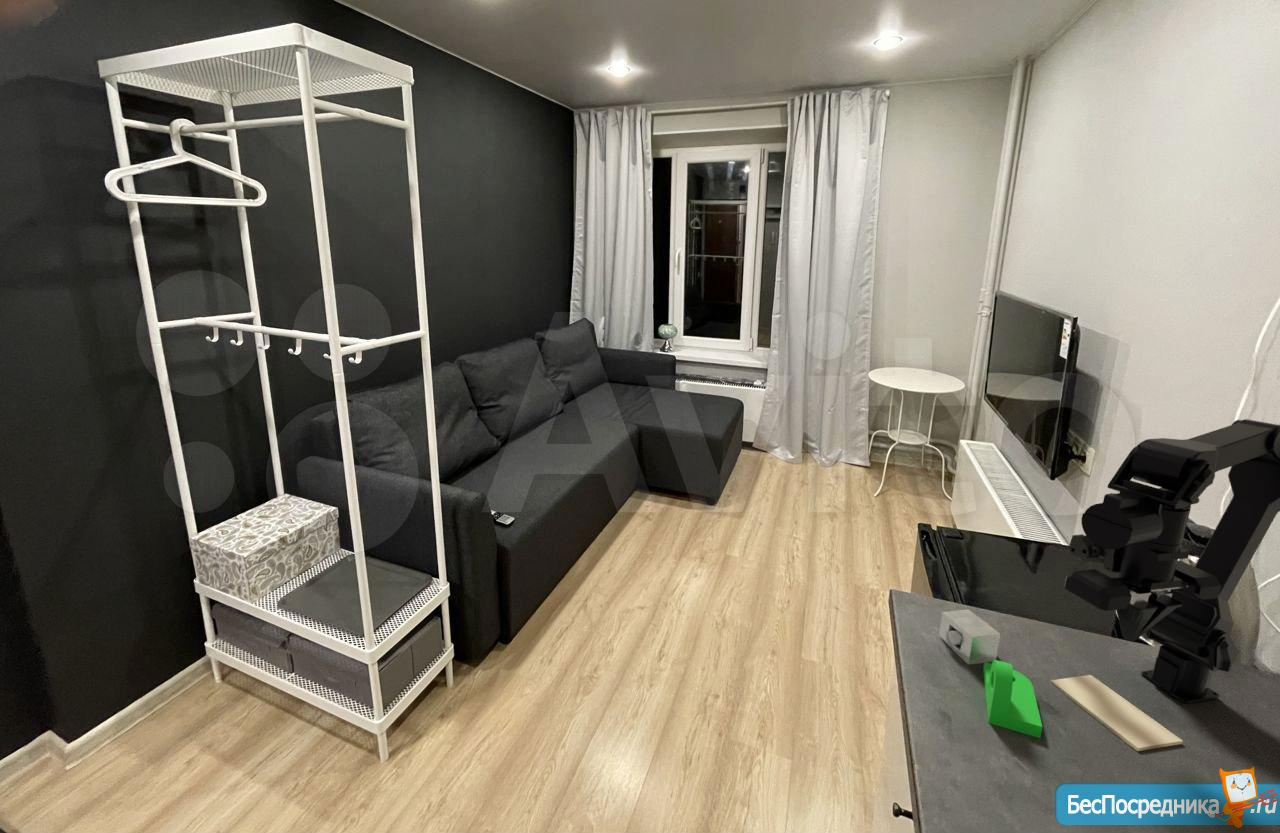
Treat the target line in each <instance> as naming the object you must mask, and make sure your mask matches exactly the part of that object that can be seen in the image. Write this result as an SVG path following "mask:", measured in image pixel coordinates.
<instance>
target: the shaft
mask: <svg viewBox="0 0 1280 833" xmlns="http://www.w3.org/2000/svg"><path fill="white" fill-rule="evenodd" d="M985 622H986V623H987V624H988V625H990V626H991V627H992V628H994V629H995V626H993V625H992V624H991V623H990V622H987V621H985ZM995 630H996V629H995ZM962 637H963V635H962V634H961V633H960V632H958V631H957V630H953V631H947V632H946V639H947V641H948V643H949V644H950V645H960V644H961V643H962Z"/></svg>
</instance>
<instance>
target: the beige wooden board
mask: <svg viewBox="0 0 1280 833" xmlns="http://www.w3.org/2000/svg"><path fill="white" fill-rule="evenodd" d="M1050 683H1052V684H1053V685H1054V686H1055V687H1056V688H1057V689H1058V690H1060V691H1061V692H1062V693H1063V694H1064V695H1065V696H1066V697H1068V698H1069V699H1070V700H1071V701H1073V702H1074V703H1075V704H1076V705H1077V706H1079V707H1080V708H1082V709H1083V711H1085V712H1086V713H1088V714H1089V715H1090V716H1091V717H1092V718H1094V719H1095V720H1096V721H1098V722H1099V723H1101V724H1102V725H1103V726H1104V727H1105V728H1107V729H1108V730H1109V731H1111V732H1112V733H1113V734H1115V735H1116V736H1117V737H1118V738H1120V739H1121V740H1122V741H1123V742H1125V743H1126V744H1127V745H1128V746H1130V747H1131V748H1132V749H1134V750H1135V751H1137V752H1141V751H1147V750H1152V749H1153V750H1155V749H1160V748H1166V747H1171V746H1178V745H1182V744H1183V742H1184V740H1183V739H1181V738H1180V737H1179V736H1177V735H1176V734H1174V733H1173V732H1172V731H1170V730H1168V729H1167V728H1165V727H1164V726H1163V725H1162V724H1160V723H1159V722H1157V721H1156V720H1155V719H1154V718H1152V717H1150V716H1149V715H1148V714H1146V713H1145V712H1143V711H1142V710H1140V709H1139V708H1138V707H1136V706H1135V705H1133V704H1132V703H1131V702H1129V701H1128V700H1126V699H1125V698H1124V697H1122V696H1121V695H1120V694H1119V693H1116V692H1115V691H1114V690H1112V688H1110V687H1108V686H1107V685H1105V683H1102V681H1100V680H1099V679H1098V678H1096V677H1094V676H1093V675H1091V674H1087V675H1081V676H1080V675H1079V676H1074V677H1073V676H1071V677H1065V678H1059V679H1051V680H1050Z"/></svg>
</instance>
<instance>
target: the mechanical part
mask: <svg viewBox="0 0 1280 833" xmlns="http://www.w3.org/2000/svg"><path fill="white" fill-rule="evenodd" d="M982 670H983V673H982V674H983V682H984V683H983V684H984V692H985V693H984V694H985V702H986V709H987V710H986V712H987V720H988V724H991V725H994V726H998V727H1001V728H1006V729H1008V730H1011V731H1014V732H1018V733H1022V734H1025V735H1028V736H1032V737H1035V738H1038V739H1041V736H1042V730H1043V724H1042V719H1041V714H1040V710H1039V708H1038V702H1037V698H1036V695H1035V694H1036V693H1035V690H1034V686H1033V683H1032V682H1031V680H1030V678H1028V677H1027V676H1025V675H1024V674H1022V673H1021V672H1019V671H1017V670H1015V669H1013V665H1012V663H1008V662H1005V661H1002V660H997V659H996V660H993V662H984V663H983V668H982Z"/></svg>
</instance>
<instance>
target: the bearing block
mask: <svg viewBox="0 0 1280 833" xmlns="http://www.w3.org/2000/svg"><path fill="white" fill-rule="evenodd" d="M986 622H987V621H984V620H983V619H982V618H980V617H979V616H978V615H977V614H976V613H974V612H972V611H971V610H970V609H959V610H958V609H957V610H951V611H942V612H941V618H940V624H939V625H940V626H939V632H938V637H939V639H941V640H942V641H943V642H944V643H945V644H947V645H948V647H949V648H950V649H951V650H952V651H953V652H955V654H957V656H959V657H960V658H961V659H962V661H964V662H965V664H967V665H975V664H976V665H977V664H984V662H987V663H992V662H993V660H997V656H998V652H999V646H1000V639H1001V633H1000V632H999V631H997V629H994V628H995V627H994V628H992V627H991V626H990V625H988V624H987V623H986ZM953 630H957V631H958V632H960V633H961V634H962V635H963V637H962V643H961V644H960V645H950V644H949V643H948V641H947V639H946V632H947V631H953Z"/></svg>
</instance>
